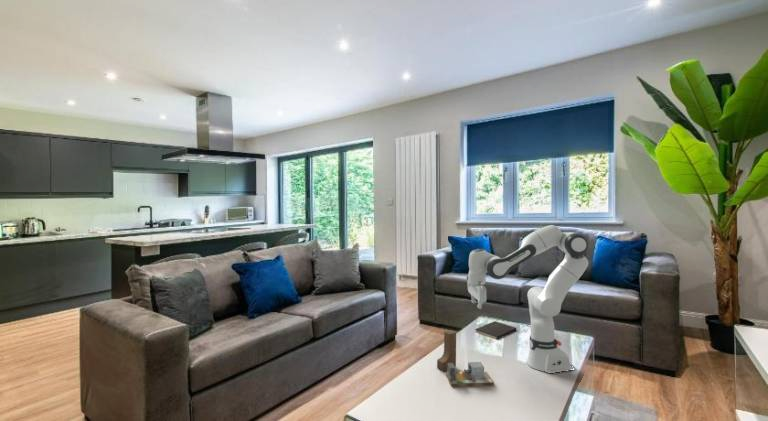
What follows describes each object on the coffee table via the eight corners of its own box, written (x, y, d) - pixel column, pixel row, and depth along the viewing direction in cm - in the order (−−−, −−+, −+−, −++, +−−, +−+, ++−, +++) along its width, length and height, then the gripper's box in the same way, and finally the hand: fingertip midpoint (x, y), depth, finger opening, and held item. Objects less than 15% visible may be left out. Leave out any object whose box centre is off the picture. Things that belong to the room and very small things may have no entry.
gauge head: (480, 374, 170) (480, 361, 170) (485, 382, 162) (486, 369, 162) (463, 374, 169) (463, 362, 169) (468, 383, 162) (468, 370, 161)
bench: (486, 374, 173) (486, 359, 172) (494, 385, 163) (494, 369, 162) (446, 375, 171) (446, 360, 171) (451, 387, 161) (451, 370, 161)
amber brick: (461, 380, 164) (461, 371, 163) (462, 382, 162) (462, 373, 162) (459, 380, 164) (459, 371, 163) (460, 382, 162) (460, 373, 162)
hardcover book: (474, 332, 227) (474, 329, 227) (494, 324, 242) (494, 321, 242) (496, 340, 215) (497, 336, 215) (516, 331, 230) (516, 327, 230)
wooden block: (442, 371, 175) (443, 336, 174) (436, 368, 179) (437, 333, 178) (456, 367, 180) (456, 332, 179) (450, 363, 184) (450, 329, 183)
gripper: (490, 284, 177) (489, 311, 177) (476, 275, 197) (476, 299, 198) (477, 284, 176) (477, 312, 177) (465, 275, 197) (465, 300, 197)
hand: (476, 305), depth 187 cm, fingers open, 8 cm apart
